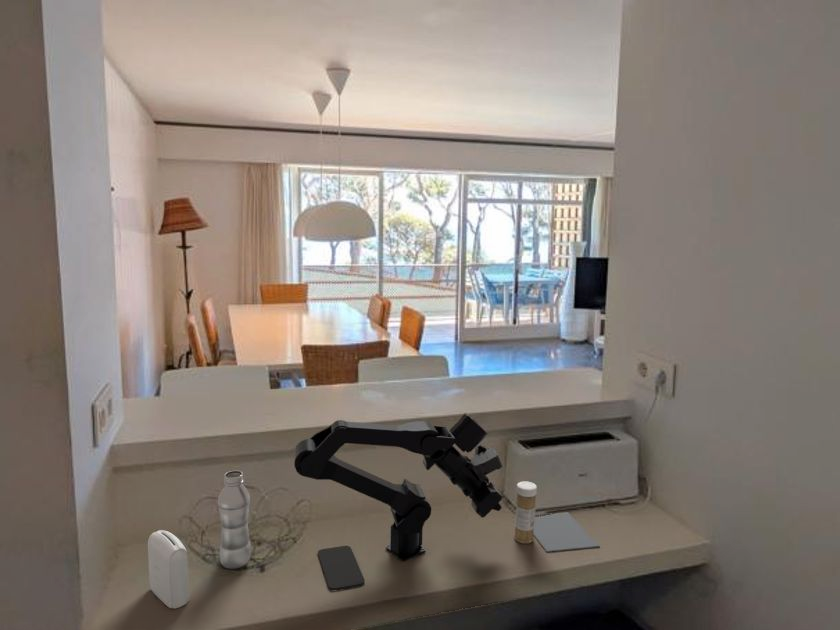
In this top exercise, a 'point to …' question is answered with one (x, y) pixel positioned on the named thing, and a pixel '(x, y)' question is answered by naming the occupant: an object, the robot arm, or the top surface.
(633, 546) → the top surface
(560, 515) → the mat
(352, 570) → the phone
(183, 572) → the photo printer
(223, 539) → the plastic bottle
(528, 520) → the sprinkles bottle
